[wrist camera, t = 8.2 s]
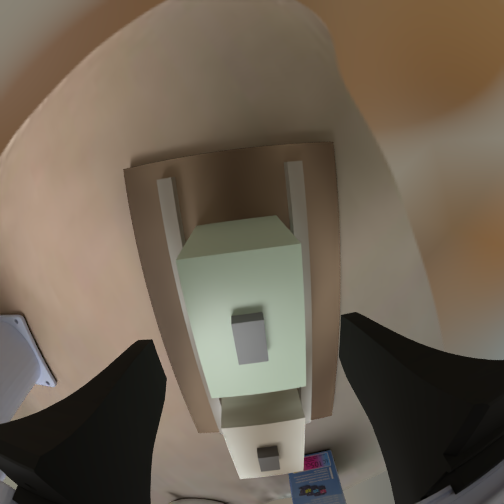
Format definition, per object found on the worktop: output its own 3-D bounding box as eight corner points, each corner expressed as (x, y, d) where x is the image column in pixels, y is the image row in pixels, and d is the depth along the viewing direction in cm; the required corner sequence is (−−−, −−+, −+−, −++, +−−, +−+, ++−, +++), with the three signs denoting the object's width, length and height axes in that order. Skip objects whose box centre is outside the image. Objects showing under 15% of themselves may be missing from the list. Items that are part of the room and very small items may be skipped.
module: (216, 331, 18) (211, 407, 11) (196, 225, 15) (172, 265, 9) (285, 322, 18) (308, 394, 11) (276, 215, 16) (305, 248, 9)
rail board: (199, 424, 22) (193, 495, 14) (129, 169, 15) (56, 175, 8) (328, 407, 22) (353, 474, 15) (327, 143, 16) (396, 129, 8)
